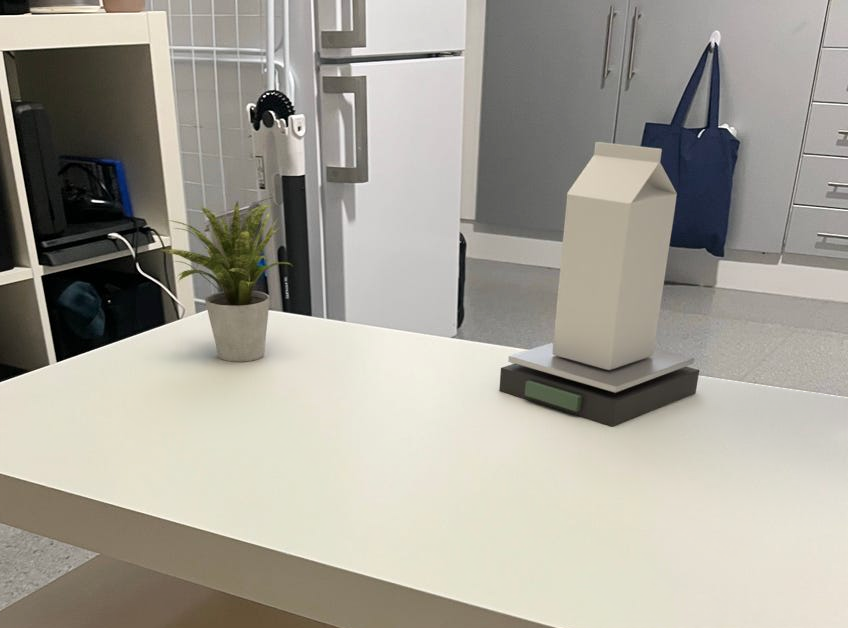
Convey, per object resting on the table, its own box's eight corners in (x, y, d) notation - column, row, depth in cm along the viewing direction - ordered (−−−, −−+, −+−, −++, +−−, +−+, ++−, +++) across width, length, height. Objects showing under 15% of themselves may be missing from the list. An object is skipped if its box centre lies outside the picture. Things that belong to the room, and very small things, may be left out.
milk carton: (609, 372, 96) (637, 152, 86) (551, 356, 101) (571, 145, 91) (653, 357, 100) (684, 145, 90) (595, 342, 105) (619, 139, 95)
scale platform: (587, 336, 109) (588, 331, 108) (693, 363, 101) (694, 357, 100) (508, 361, 101) (508, 355, 101) (615, 393, 93) (616, 386, 93)
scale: (584, 362, 111) (586, 340, 110) (695, 393, 102) (699, 369, 101) (495, 392, 103) (496, 368, 101) (608, 428, 94) (611, 403, 93)
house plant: (215, 329, 123) (203, 182, 114) (321, 339, 119) (317, 188, 110) (156, 363, 111) (137, 203, 102) (271, 376, 107) (262, 210, 98)
